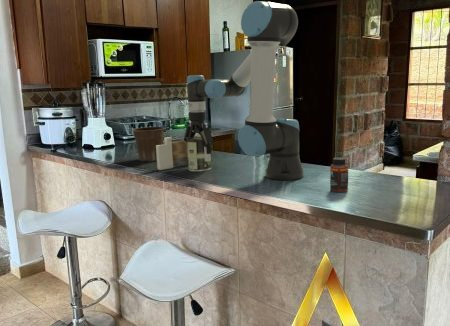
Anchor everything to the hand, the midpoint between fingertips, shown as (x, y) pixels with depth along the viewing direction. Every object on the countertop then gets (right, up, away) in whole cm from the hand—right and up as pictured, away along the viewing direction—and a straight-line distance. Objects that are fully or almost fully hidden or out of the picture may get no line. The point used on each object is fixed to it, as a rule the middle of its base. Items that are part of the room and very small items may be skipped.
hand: (199, 159), depth 188 cm
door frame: (-7, -3, +11) cm, 14 cm away
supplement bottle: (+51, -11, -43) cm, 68 cm away
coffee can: (0, -5, +1) cm, 5 cm away
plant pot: (-27, 0, +29) cm, 39 cm away
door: (-8, -2, +12) cm, 14 cm away
